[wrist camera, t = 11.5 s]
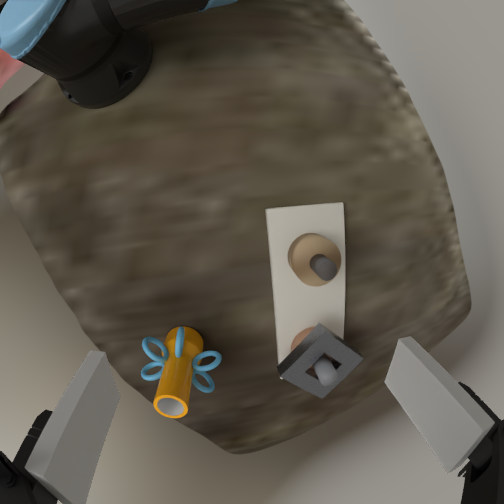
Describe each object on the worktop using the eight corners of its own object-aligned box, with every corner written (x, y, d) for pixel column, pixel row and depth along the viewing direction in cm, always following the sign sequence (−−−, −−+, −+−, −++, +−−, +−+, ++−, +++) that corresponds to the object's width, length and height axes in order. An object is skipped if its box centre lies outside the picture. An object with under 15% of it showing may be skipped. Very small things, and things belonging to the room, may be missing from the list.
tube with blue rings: (136, 339, 41) (107, 399, 26) (172, 295, 39) (148, 351, 25) (195, 379, 43) (188, 446, 29) (235, 342, 42) (240, 409, 28)
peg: (289, 330, 41) (304, 364, 32) (332, 322, 42) (355, 353, 33) (291, 365, 43) (304, 401, 34) (331, 357, 43) (350, 390, 35)
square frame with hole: (319, 322, 37) (324, 331, 34) (357, 349, 39) (363, 358, 36) (276, 366, 38) (279, 376, 35) (317, 388, 40) (322, 398, 37)
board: (265, 208, 38) (266, 209, 37) (339, 202, 38) (343, 202, 37) (279, 374, 44) (280, 378, 43) (338, 362, 45) (341, 366, 44)
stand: (285, 235, 38) (299, 247, 30) (329, 230, 38) (352, 240, 31) (289, 279, 39) (302, 300, 32) (331, 273, 40) (352, 292, 32)
